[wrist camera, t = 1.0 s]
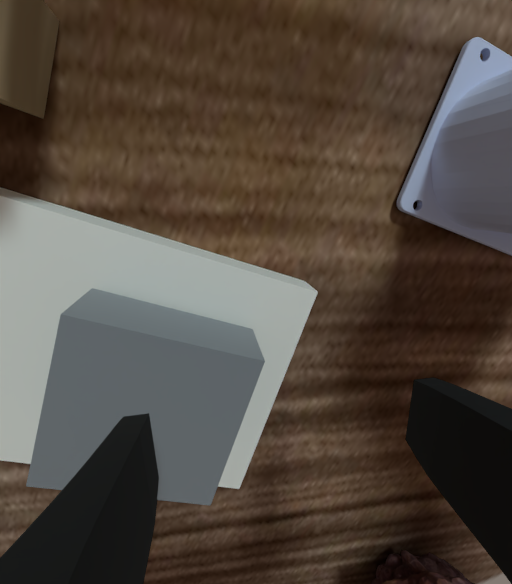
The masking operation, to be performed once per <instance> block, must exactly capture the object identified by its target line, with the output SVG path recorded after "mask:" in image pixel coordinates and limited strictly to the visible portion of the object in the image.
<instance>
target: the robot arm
mask: <svg viewBox="0 0 512 584" xmlns="http://www.w3.org/2000/svg"><path fill="white" fill-rule="evenodd" d="M480 53H482V55H483V60H481V59H480ZM415 201H417V207H416V209H415V210H414V208H413V203H414V202H415ZM397 207H398V209H399V210H400V211H402V212H404V213H407V214H409V215H412V216H414V217H417V218H419V219H421V220H424V221H426V222H429V223H431V224H434V225H436V226H439V227H441V228H444V229H446V230H449V231H451V232H454V233H456V234H459V235H461V236H464V237H466V238H469V239H471V240H474V241H476V242H478V243H481V244H483V245H486V246H488V247H491V248H493V249H496V250H498V251H501V252H503V253H506V254H508V255H511V256H512V57H511V56H510V55H508V54H506V53H505V52H503V51H502V50H500V49H498V48H497V47H495V46H493V45H492V44H490V43H489V42H487V41H485V40H484V39H482V38H479V37H476V38H473V39H471V40H469V41H468V42H467V43H465V44H464V46H463V48H462V50H461V52H460V54H459V57H458V59H457V61H456V64H455V66H454V68H453V71H452V73H451V75H450V78H449V80H448V82H447V85H446V87H445V89H444V92H443V94H442V96H441V99H440V101H439V103H438V106H437V108H436V110H435V113H434V115H433V117H432V120H431V122H430V124H429V126H428V129H427V131H426V133H425V136H424V138H423V140H422V143H421V145H420V147H419V150H418V152H417V154H416V157H415V159H414V161H413V164H412V166H411V168H410V171H409V173H408V175H407V178H406V180H405V182H404V185H403V187H402V189H401V192H400V194H399V196H398V199H397ZM406 441H407V443H408V444H409V446H410V448H411V449H412V451H413V453H414V455H415V456H416V458H417V460H418V461H419V463H420V464H421V466H422V467H423V469H424V471H425V472H426V474H427V475H428V477H429V478H430V479H431V481H432V482H433V483H434V485H435V486H436V487H437V488H438V490H439V491H440V492H441V494H442V495H443V496H444V498H445V499H446V500H447V501H448V503H449V504H450V505H451V507H452V508H453V509H454V510H455V512H456V513H457V514H458V515H459V517H460V518H461V519H462V521H463V522H464V523H465V524H466V526H467V527H468V528H469V529H470V531H471V532H472V533H473V534H474V536H475V537H476V538H477V540H478V541H479V542H480V543H481V545H482V546H483V547H484V548H485V550H486V551H487V552H488V554H489V555H490V556H491V557H492V559H493V560H494V561H495V562H496V564H497V565H498V566H499V568H500V569H501V570H502V572H503V573H504V574H505V576H506V577H507V578H508V580H509V581H510V582H511V584H512V409H510V408H508V407H506V406H503V405H501V404H499V403H496V402H494V401H492V400H489V399H487V398H485V397H482V396H480V395H478V394H475V393H473V392H471V391H468V390H466V389H463V388H461V387H458V386H456V385H453V384H451V383H448V382H445V381H443V380H440V379H437V378H434V377H433V378H425V379H417V380H414V384H413V391H412V398H411V405H410V412H409V419H408V426H407V433H406ZM158 483H159V475H158V468H157V462H156V455H155V449H154V442H153V436H152V429H151V423H150V416H149V413H148V414H140V415H132V416H124V417H123V418H122V419H121V420H120V421H119V422H118V423H117V424H116V426H115V427H114V428H113V429H112V431H111V432H110V433H109V434H108V436H107V437H106V438H105V439H104V441H103V442H102V443H101V444H100V445H99V447H98V448H97V449H96V450H95V452H94V453H93V454H92V455H91V457H90V458H89V459H88V460H87V461H86V463H85V464H84V465H83V466H82V467H81V469H80V470H79V471H78V472H77V473H76V474H75V476H74V477H73V478H72V479H71V480H70V481H69V483H68V484H67V485H66V486H65V487H64V489H63V490H62V491H61V492H60V493H59V494H58V496H57V497H56V498H55V499H54V500H53V501H52V502H51V503H50V505H49V506H48V507H47V508H46V509H45V510H44V511H43V512H42V513H41V514H40V516H39V517H38V518H37V519H36V520H35V521H34V522H33V523H32V524H31V525H30V526H29V528H28V529H27V530H26V531H25V532H24V533H23V534H22V535H21V536H20V537H19V538H18V540H17V541H16V542H15V543H14V544H13V545H12V546H11V547H10V548H9V549H8V550H7V551H6V552H5V553H4V554H3V555H2V557H1V558H0V584H143V582H144V577H145V572H146V567H147V562H148V556H149V551H150V546H151V541H152V536H153V530H154V525H155V516H156V506H157V495H158Z"/></svg>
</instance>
